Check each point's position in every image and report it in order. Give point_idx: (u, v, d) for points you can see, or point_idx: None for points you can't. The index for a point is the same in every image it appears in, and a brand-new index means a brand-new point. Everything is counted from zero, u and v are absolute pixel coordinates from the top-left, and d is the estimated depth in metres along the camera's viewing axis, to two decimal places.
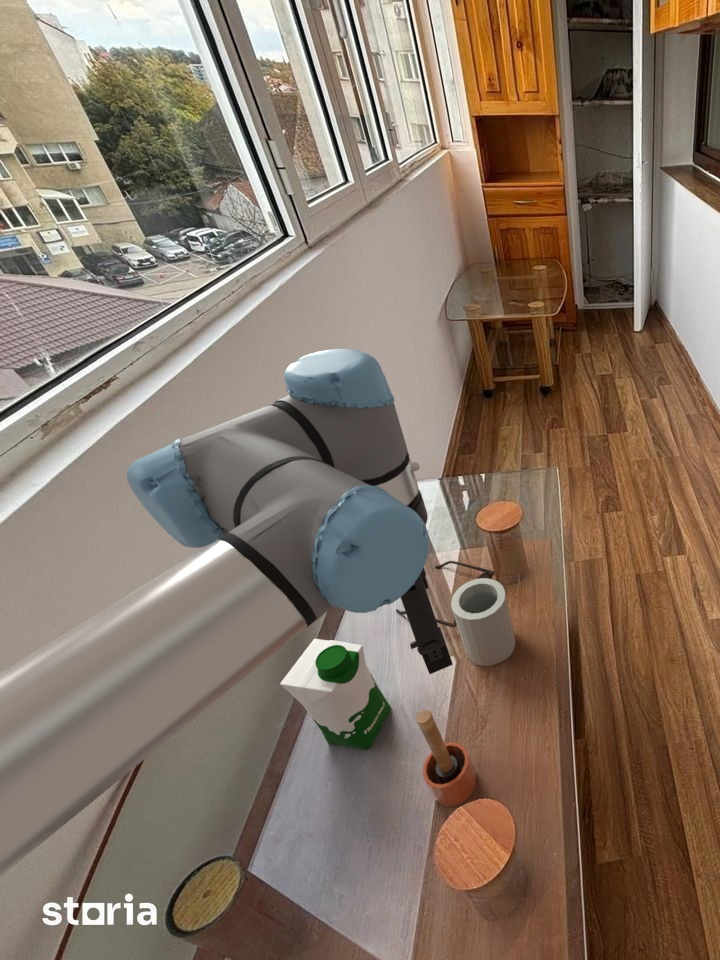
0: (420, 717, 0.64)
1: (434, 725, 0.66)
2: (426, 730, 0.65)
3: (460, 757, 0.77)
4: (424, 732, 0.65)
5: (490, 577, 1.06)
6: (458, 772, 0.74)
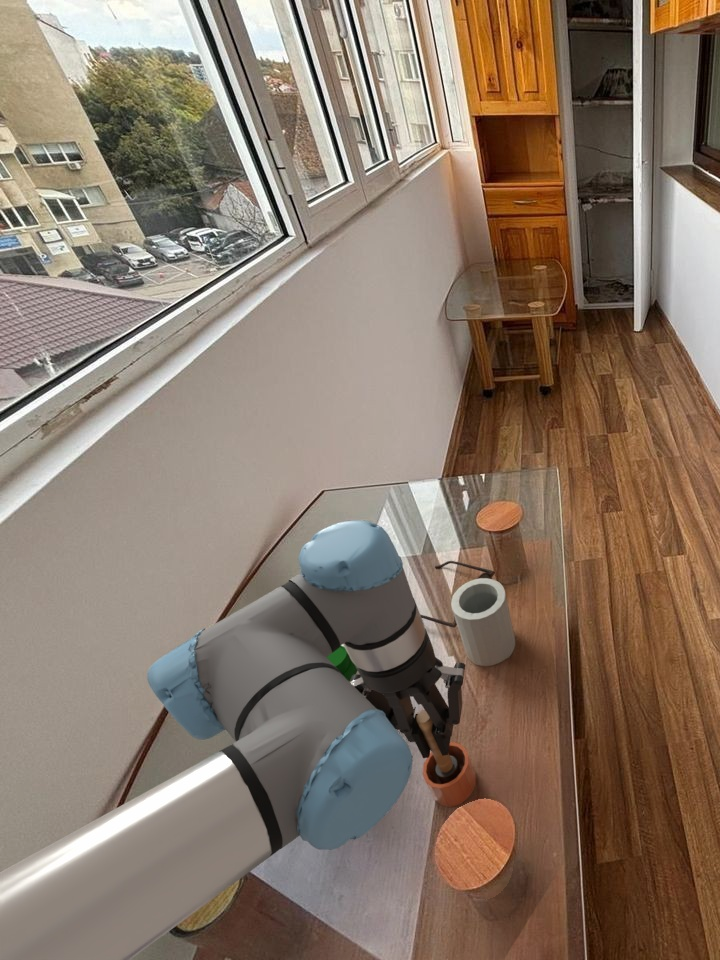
0: (420, 717, 0.64)
1: None
2: (426, 730, 0.65)
3: (460, 757, 0.77)
4: (424, 732, 0.65)
5: (490, 577, 1.06)
6: (458, 772, 0.74)
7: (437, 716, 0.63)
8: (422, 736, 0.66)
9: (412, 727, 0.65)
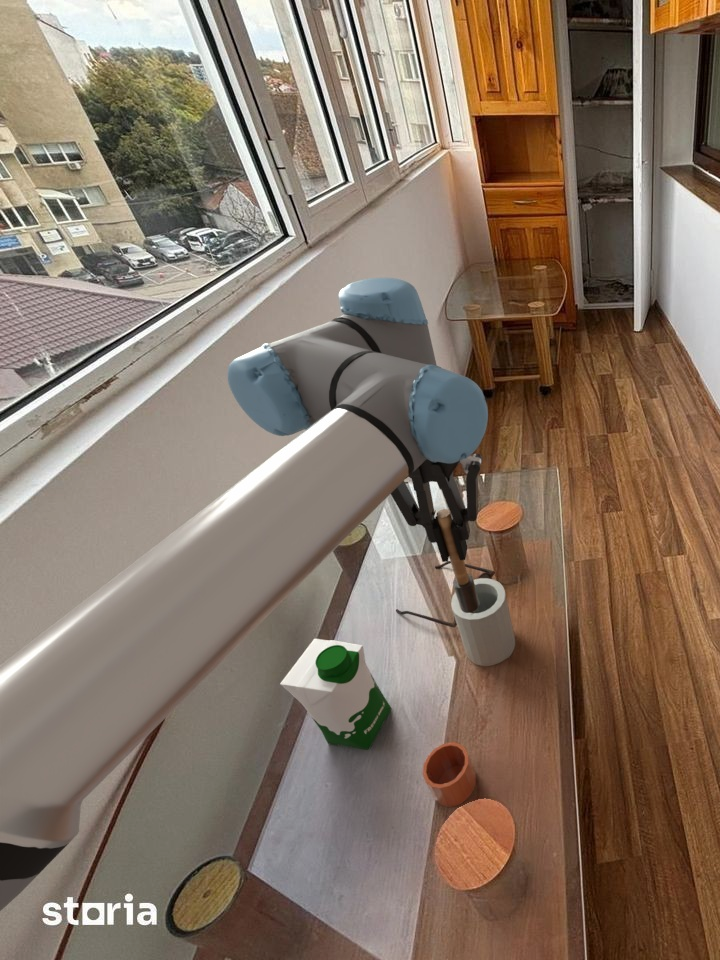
0: (440, 514, 0.70)
1: None
2: (445, 527, 0.71)
3: (460, 757, 0.77)
4: (443, 530, 0.71)
5: (490, 577, 1.06)
6: (473, 588, 0.80)
7: (456, 509, 0.69)
8: (442, 536, 0.72)
9: (433, 524, 0.70)
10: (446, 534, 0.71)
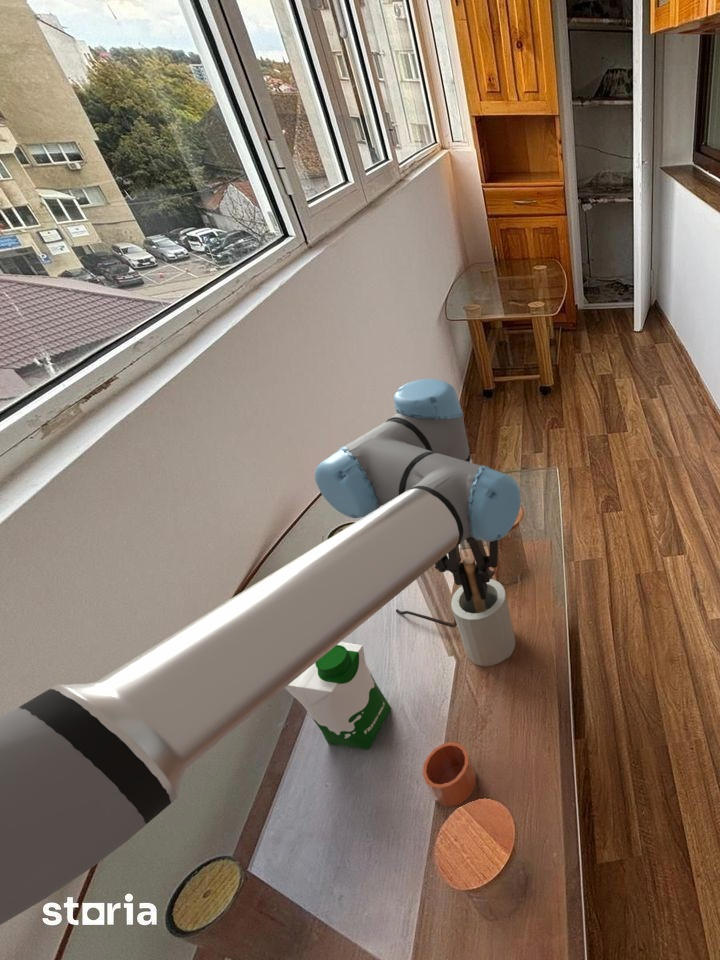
0: (466, 561, 0.82)
1: None
2: (470, 572, 0.82)
3: (460, 757, 0.77)
4: (468, 575, 0.83)
5: (490, 577, 1.06)
6: None
7: (480, 557, 0.80)
8: (466, 580, 0.84)
9: (459, 570, 0.82)
10: (470, 578, 0.83)
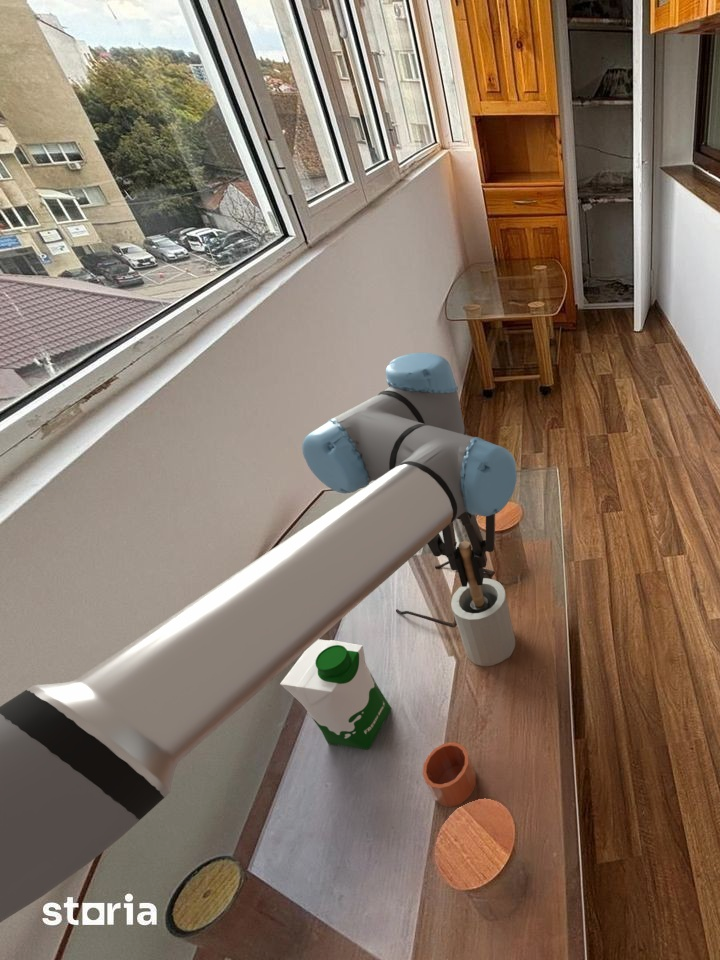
0: (461, 545, 0.80)
1: None
2: (466, 557, 0.80)
3: (460, 757, 0.77)
4: (464, 559, 0.81)
5: (490, 577, 1.06)
6: None
7: (476, 541, 0.78)
8: (462, 565, 0.81)
9: (455, 554, 0.80)
10: (466, 563, 0.81)
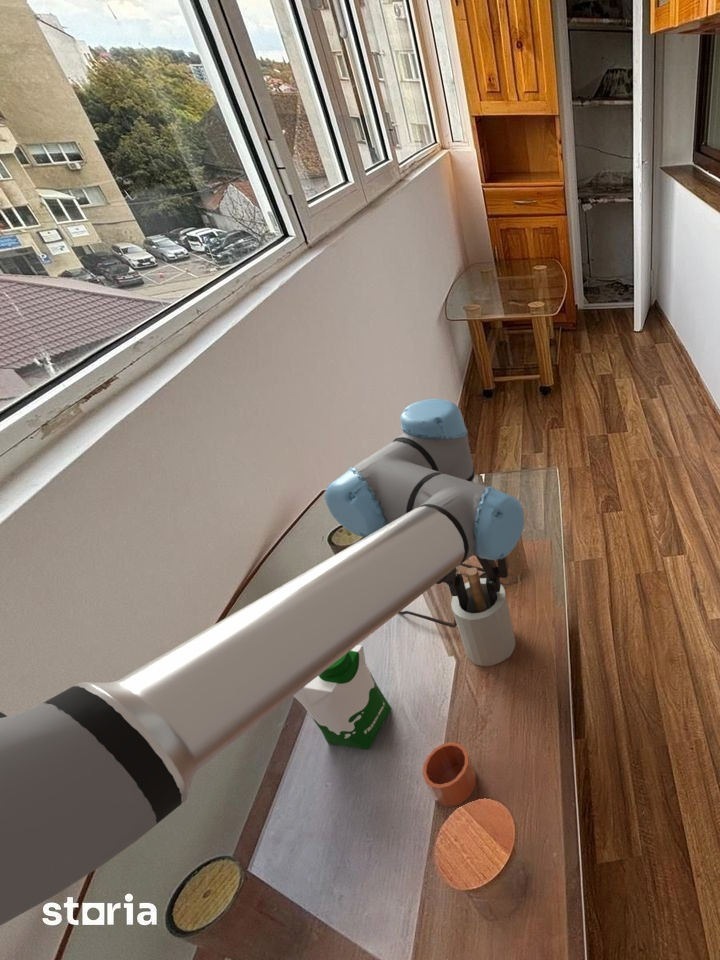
0: (469, 572, 0.84)
1: (479, 580, 0.85)
2: (473, 582, 0.84)
3: (460, 757, 0.77)
4: (472, 585, 0.84)
5: None
6: None
7: (489, 568, 0.82)
8: (462, 591, 0.85)
9: (455, 581, 0.84)
10: (474, 588, 0.85)
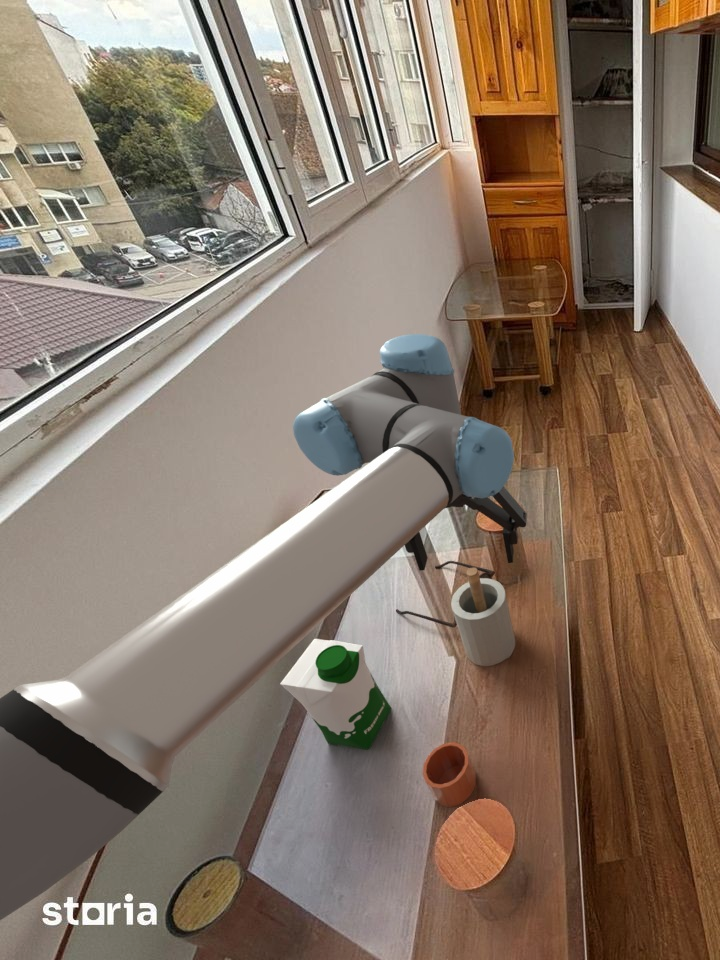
0: (469, 572, 0.84)
1: (479, 580, 0.85)
2: (473, 582, 0.84)
3: (460, 757, 0.77)
4: (472, 585, 0.84)
5: (490, 577, 1.06)
6: None
7: (499, 519, 0.76)
8: (418, 547, 0.78)
9: None
10: (474, 588, 0.85)
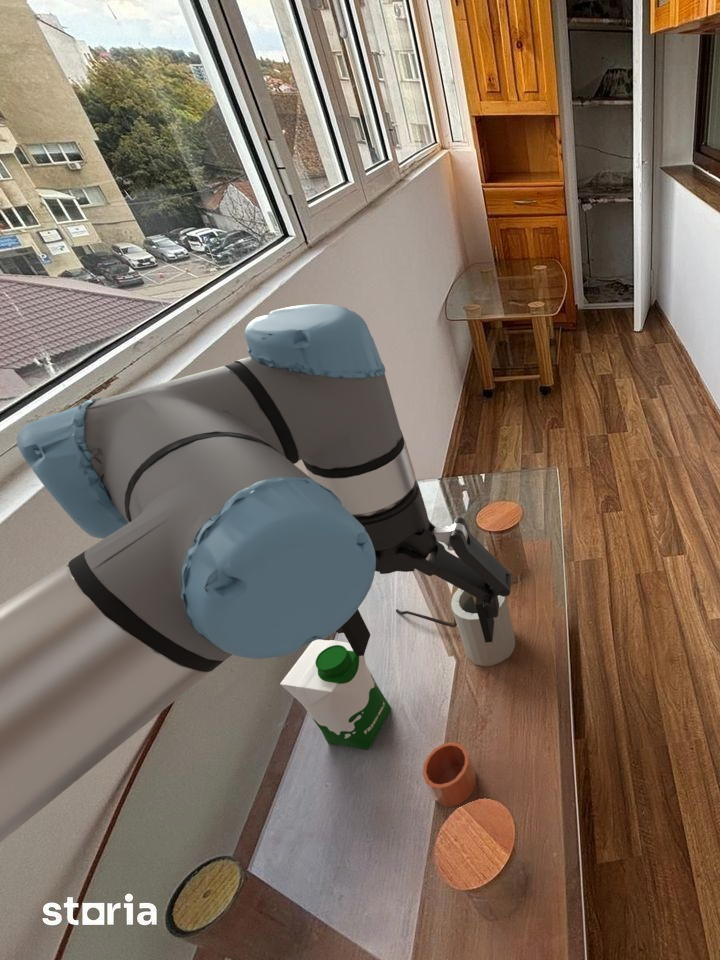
0: None
1: None
2: None
3: (460, 757, 0.77)
4: None
5: None
6: None
7: (469, 586, 0.51)
8: (352, 625, 0.53)
9: None
10: None
